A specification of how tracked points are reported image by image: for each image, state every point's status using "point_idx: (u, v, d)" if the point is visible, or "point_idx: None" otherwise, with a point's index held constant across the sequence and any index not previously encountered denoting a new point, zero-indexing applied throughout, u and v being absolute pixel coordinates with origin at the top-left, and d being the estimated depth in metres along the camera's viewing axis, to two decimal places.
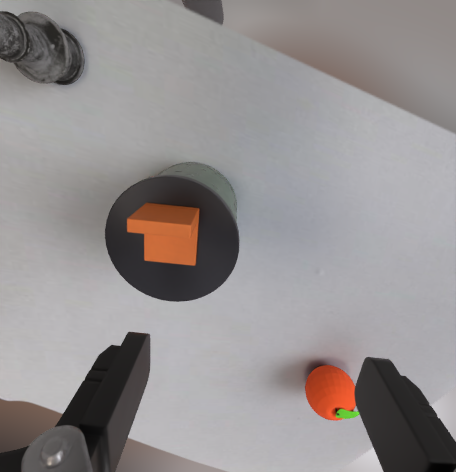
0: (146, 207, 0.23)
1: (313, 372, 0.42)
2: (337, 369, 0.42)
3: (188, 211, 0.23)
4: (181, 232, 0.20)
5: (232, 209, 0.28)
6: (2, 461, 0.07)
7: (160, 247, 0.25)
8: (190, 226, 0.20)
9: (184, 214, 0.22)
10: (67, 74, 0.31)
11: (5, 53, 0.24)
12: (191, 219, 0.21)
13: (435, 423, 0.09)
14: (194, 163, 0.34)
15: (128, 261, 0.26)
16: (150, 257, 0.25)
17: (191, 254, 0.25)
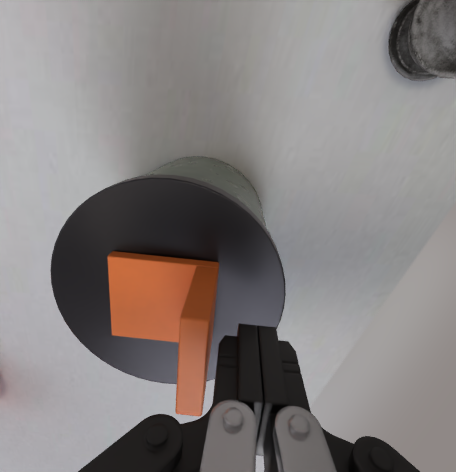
0: (216, 283, 0.13)
1: None
2: None
3: (210, 345, 0.14)
4: (186, 403, 0.11)
5: None
6: (183, 431, 0.08)
7: (138, 286, 0.14)
8: (198, 414, 0.11)
9: (209, 355, 0.13)
10: (404, 50, 0.20)
11: None
12: None
13: (294, 377, 0.10)
14: None
15: (122, 218, 0.13)
16: (117, 268, 0.13)
17: (132, 332, 0.15)
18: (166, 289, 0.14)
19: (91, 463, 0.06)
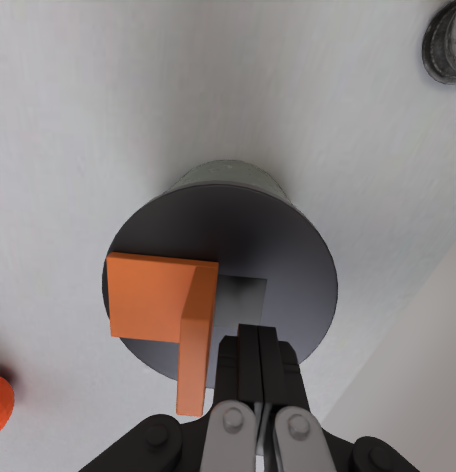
0: None
1: None
2: (11, 408, 0.31)
3: (210, 345, 0.14)
4: (187, 404, 0.11)
5: None
6: (184, 430, 0.08)
7: (137, 287, 0.14)
8: (199, 414, 0.11)
9: None
10: (437, 54, 0.20)
11: None
12: (205, 389, 0.12)
13: (294, 377, 0.10)
14: None
15: (179, 224, 0.13)
16: (115, 269, 0.13)
17: (132, 333, 0.14)
18: (165, 289, 0.14)
19: (91, 463, 0.06)
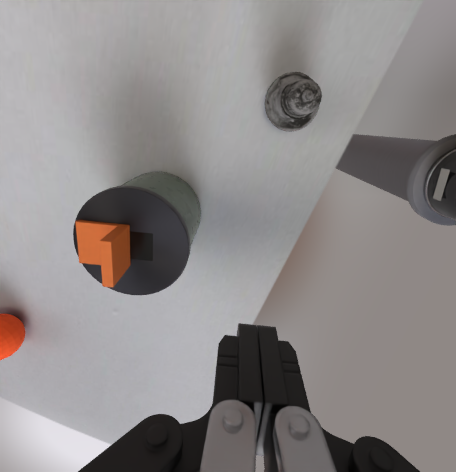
0: (124, 233, 0.27)
1: (13, 319, 0.45)
2: (23, 337, 0.46)
3: (126, 265, 0.29)
4: (106, 280, 0.26)
5: None
6: (184, 431, 0.08)
7: (90, 236, 0.28)
8: (112, 286, 0.26)
9: (122, 267, 0.28)
10: None
11: (286, 102, 0.27)
12: (118, 279, 0.27)
13: (295, 377, 0.10)
14: (199, 218, 0.40)
15: (108, 206, 0.28)
16: (80, 227, 0.28)
17: (89, 261, 0.29)
18: None
19: (91, 463, 0.06)
